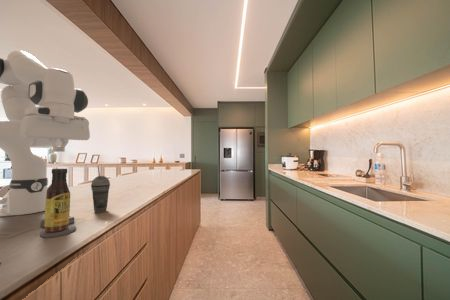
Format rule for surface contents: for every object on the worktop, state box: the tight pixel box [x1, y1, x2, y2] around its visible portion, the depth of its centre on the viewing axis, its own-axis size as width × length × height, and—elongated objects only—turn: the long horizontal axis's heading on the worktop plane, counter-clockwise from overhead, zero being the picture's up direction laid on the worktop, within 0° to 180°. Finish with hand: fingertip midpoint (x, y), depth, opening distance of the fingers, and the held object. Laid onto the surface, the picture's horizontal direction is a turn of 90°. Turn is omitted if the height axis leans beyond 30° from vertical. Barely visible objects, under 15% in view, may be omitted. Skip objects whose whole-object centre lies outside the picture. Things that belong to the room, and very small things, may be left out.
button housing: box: [40, 215, 75, 228], centre depth 74 cm, size 7×7×2 cm
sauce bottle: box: [43, 168, 71, 233], centre depth 67 cm, size 6×6×20 cm
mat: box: [39, 224, 77, 239], centre depth 67 cm, size 9×9×1 cm
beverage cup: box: [90, 165, 111, 214], centre depth 90 cm, size 7×7×20 cm
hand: (58, 151), depth 74 cm, fingers closed
